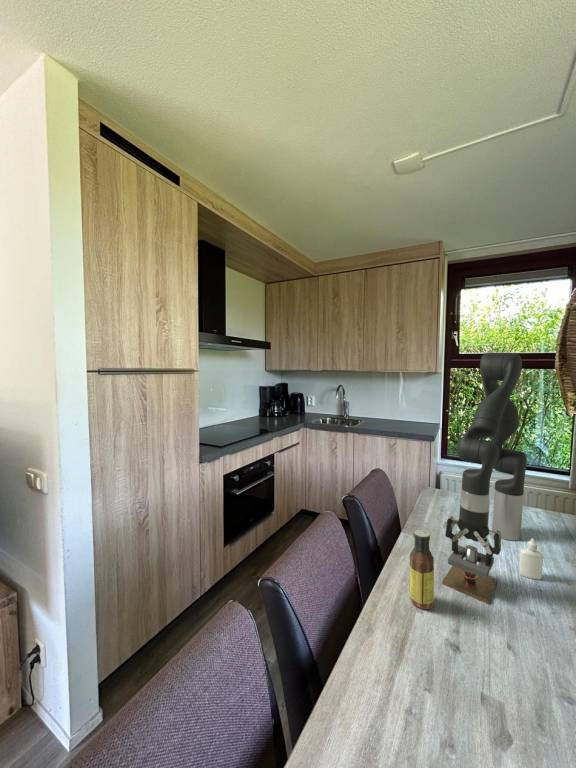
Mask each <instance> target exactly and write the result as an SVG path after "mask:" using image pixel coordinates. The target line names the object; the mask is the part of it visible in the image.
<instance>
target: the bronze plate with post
mask: <svg viewBox="0 0 576 768" xmlns="http://www.w3.org/2000/svg"><path fill="white" fill-rule="evenodd" d="M465 548H466V557H464V560H466V561H469V562H471V563H474V564H476V565H478V564H477V563H478V562H477V552H478V548H477V547H476V546H474V545H466V546H465ZM497 583H498V579H496V578H494V577H491V576H489V575H488V577H487V579H485V578H482V577H480V576H477V575H475V574H472V573H470V572H467V571H465V570H462V569H460V568H457V567H455V566H452V565H451V567H450V569H449V570H448V571H447V573H446V575H445V576H444V577H443V579H442V582H441V585H443V586H446V587H448V588H450V589H452V590H455V591H458V592H459V593H462V594H464V595H466V596H469V597H471V598H474V599H475V600H477V601H480V602H481V603H485V604H487V605H489V604H490V601H491V599H492V596H493V594H494V591H495V589H496V586H497Z"/></svg>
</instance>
